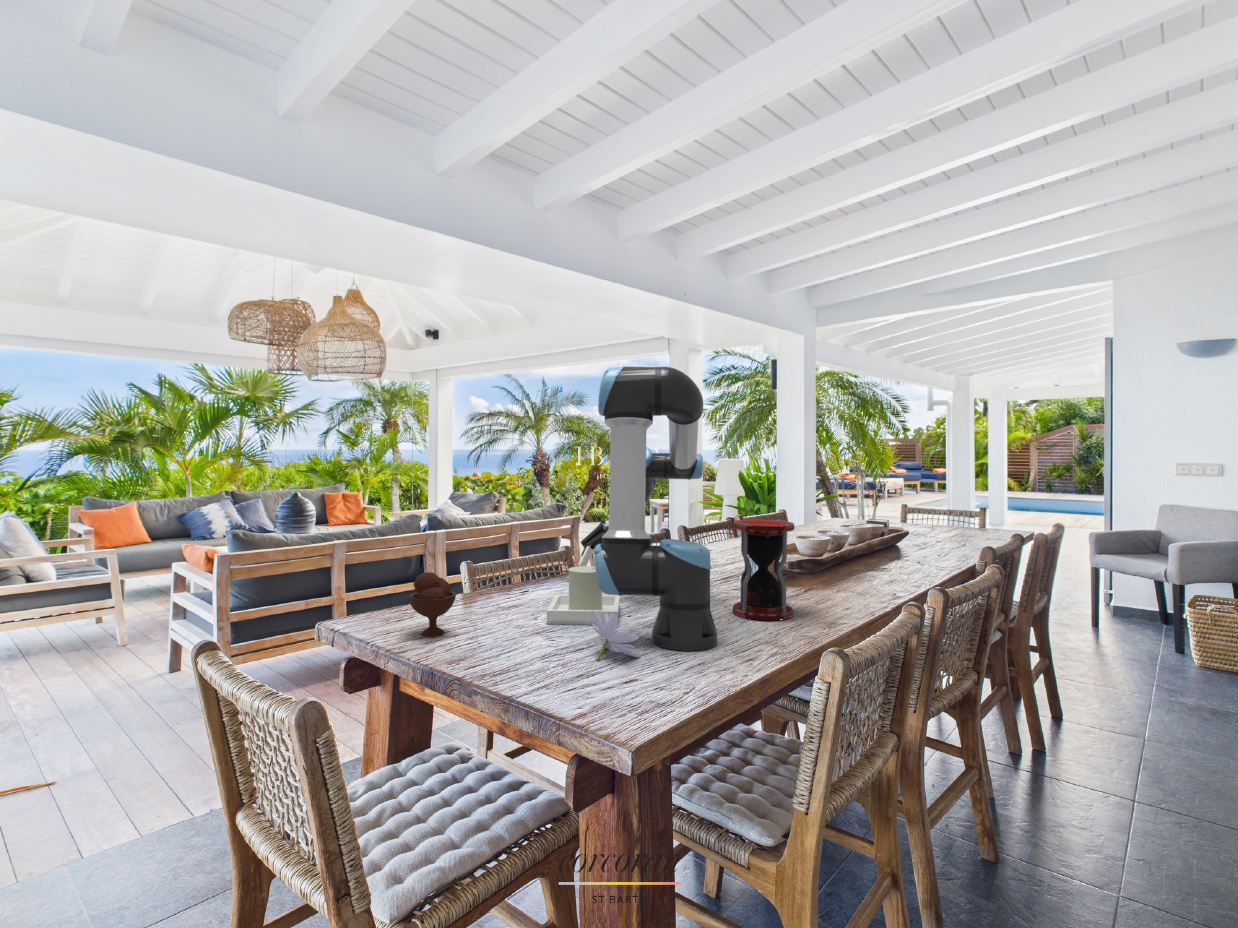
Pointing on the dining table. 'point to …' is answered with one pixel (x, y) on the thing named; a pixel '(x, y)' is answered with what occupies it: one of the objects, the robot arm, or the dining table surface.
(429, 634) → the ice cream bowl
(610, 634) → the water lily
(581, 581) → the can
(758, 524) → the hourglass
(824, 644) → the dining table surface
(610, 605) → the grey tray
